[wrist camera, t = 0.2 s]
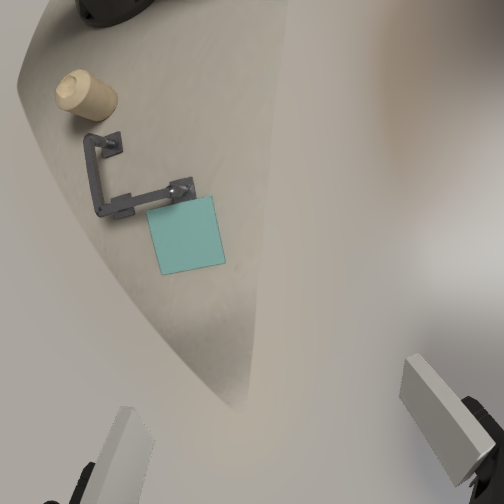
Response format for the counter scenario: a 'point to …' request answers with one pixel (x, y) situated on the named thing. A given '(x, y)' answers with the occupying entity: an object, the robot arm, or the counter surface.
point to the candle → (85, 96)
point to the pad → (186, 235)
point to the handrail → (125, 203)
